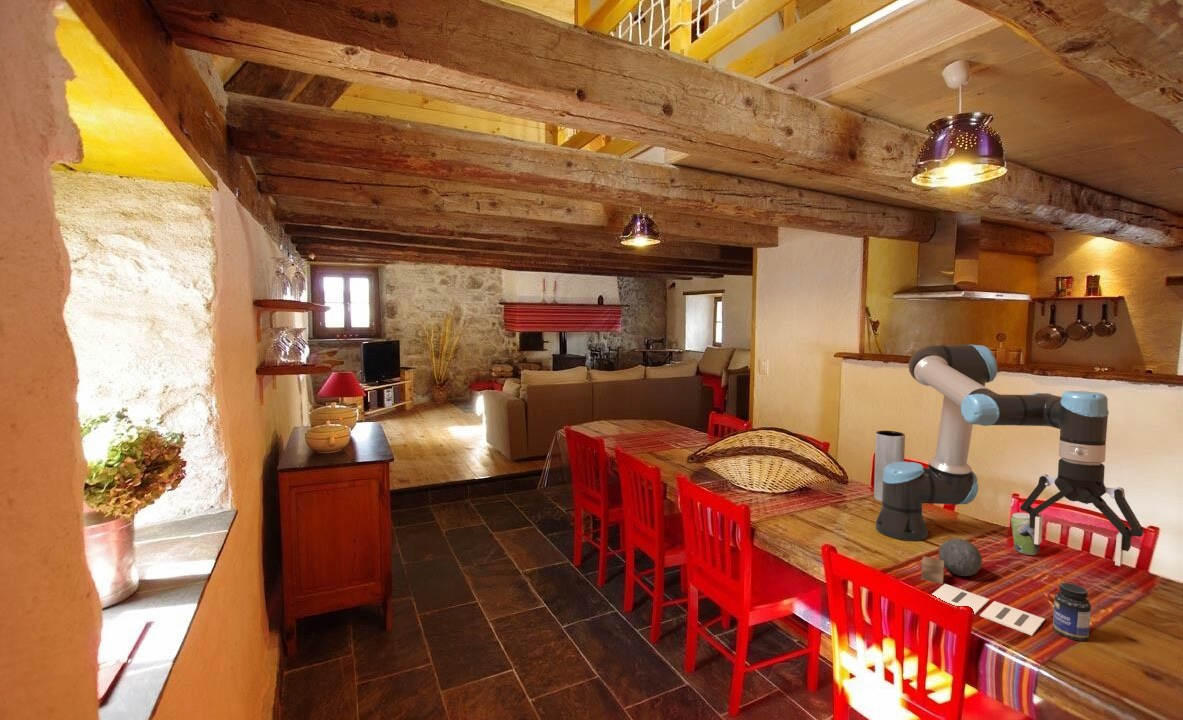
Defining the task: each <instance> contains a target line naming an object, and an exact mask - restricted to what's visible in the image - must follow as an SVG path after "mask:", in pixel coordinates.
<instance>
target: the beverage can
mask: <svg viewBox="0 0 1183 720" xmlns="http://www.w3.org/2000/svg"><path fill="white" fill-rule="evenodd" d="M1010 524H1011V533H1012V537H1013V544H1014V550H1015V551H1017V552H1018V553H1020V554H1022V555H1026V556H1028V555H1029V556H1034V555H1036V554H1038V553H1040V552H1041V548H1040V544H1039V545H1037V544H1034V535H1035V529H1033V528H1030V526H1029V524H1030V515H1029V513H1027V512H1015V513H1012V516H1011V517H1010Z"/></svg>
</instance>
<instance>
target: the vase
mask: <svg viewBox="0 0 1183 720" xmlns="http://www.w3.org/2000/svg"><path fill="white" fill-rule="evenodd" d="M905 442H906V434H905V433H903V432H900V431H895V430H877V431H876V432H875V447H874V448H875V452H874V454H875V456H874V479H873V480H874V483H873V485H874V486H873V487H874V489H873V498H874V499H875V500H876V501H878V502H880V503H882V496H883V479H882V477H883V473H884V468H885V467H886V466H887V465H888V464H891V463H895V462H905V445H906V444H905Z"/></svg>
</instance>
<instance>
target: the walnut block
mask: <svg viewBox="0 0 1183 720" xmlns="http://www.w3.org/2000/svg"><path fill="white" fill-rule="evenodd" d="M921 559H922V560H921V571H920V572H921V577H920V580H921V581H923V580H926V581H925V582H927V581H931V582H935V583H934V584H936V583H939V584H938V585H940V584H943V585H944V575H945V567H944V561H943V560H940V559H938V558H932V557H928V556H925V555H924V556H923V555H922V558H921ZM931 582H930V583H931Z"/></svg>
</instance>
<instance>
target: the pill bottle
mask: <svg viewBox="0 0 1183 720" xmlns="http://www.w3.org/2000/svg"><path fill="white" fill-rule="evenodd" d="M1088 593H1089V592H1088V590H1087V589H1086V587H1085V588H1084V587H1083V586H1080V585H1078V584H1075V583H1071V582H1070V583H1069V582H1061V583H1059V592H1056V594H1055V595H1054V604H1053V614H1052V615H1053V618H1052V629H1053V630H1054V632H1056V633H1057V634H1058V635H1060V636H1062V637H1065V638H1067V639H1070V640H1072V641H1073V640H1074V641H1079V642H1080V641H1083V642H1084V641H1087V640H1088V639H1089V636H1090V635H1089V634H1090V626H1091V625H1090V621H1091V613H1092V611H1091V610H1092V609H1091V608H1092V605H1091V603H1090V601H1089V600H1087V598H1088V596H1089V595H1088Z"/></svg>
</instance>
